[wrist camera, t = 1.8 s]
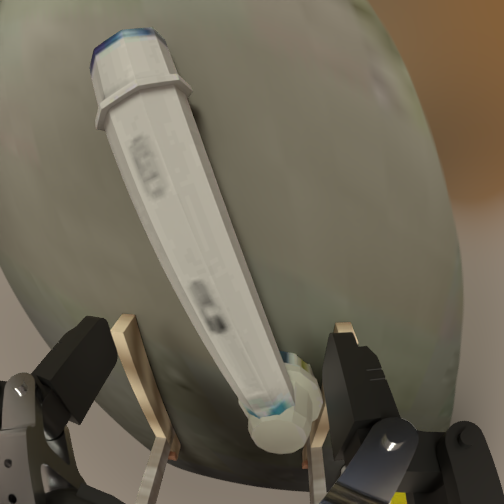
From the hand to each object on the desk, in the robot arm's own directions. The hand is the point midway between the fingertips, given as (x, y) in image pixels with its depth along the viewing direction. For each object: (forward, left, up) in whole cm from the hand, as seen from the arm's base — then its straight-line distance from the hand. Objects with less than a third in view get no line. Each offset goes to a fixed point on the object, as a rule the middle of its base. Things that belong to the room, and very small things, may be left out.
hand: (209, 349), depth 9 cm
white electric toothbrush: (0, 0, -7) cm, 7 cm away
